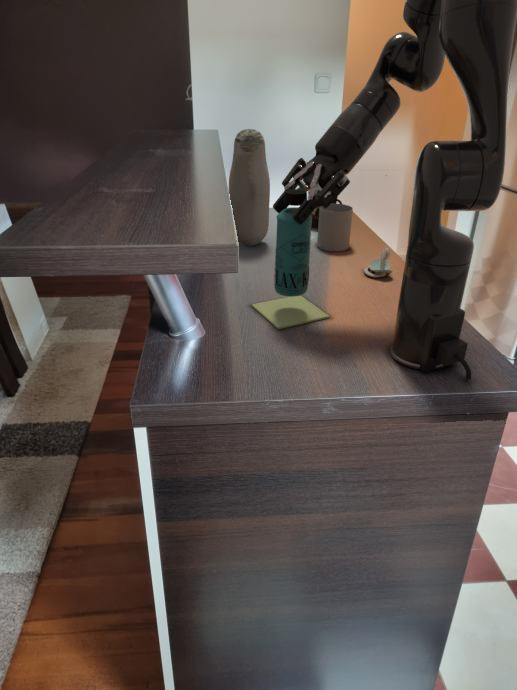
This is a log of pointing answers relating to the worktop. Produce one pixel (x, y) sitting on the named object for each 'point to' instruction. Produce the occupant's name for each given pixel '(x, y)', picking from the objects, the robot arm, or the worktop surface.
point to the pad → (289, 311)
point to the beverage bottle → (292, 248)
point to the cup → (334, 227)
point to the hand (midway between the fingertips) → (286, 215)
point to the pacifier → (379, 265)
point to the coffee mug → (316, 212)
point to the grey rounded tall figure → (250, 187)
